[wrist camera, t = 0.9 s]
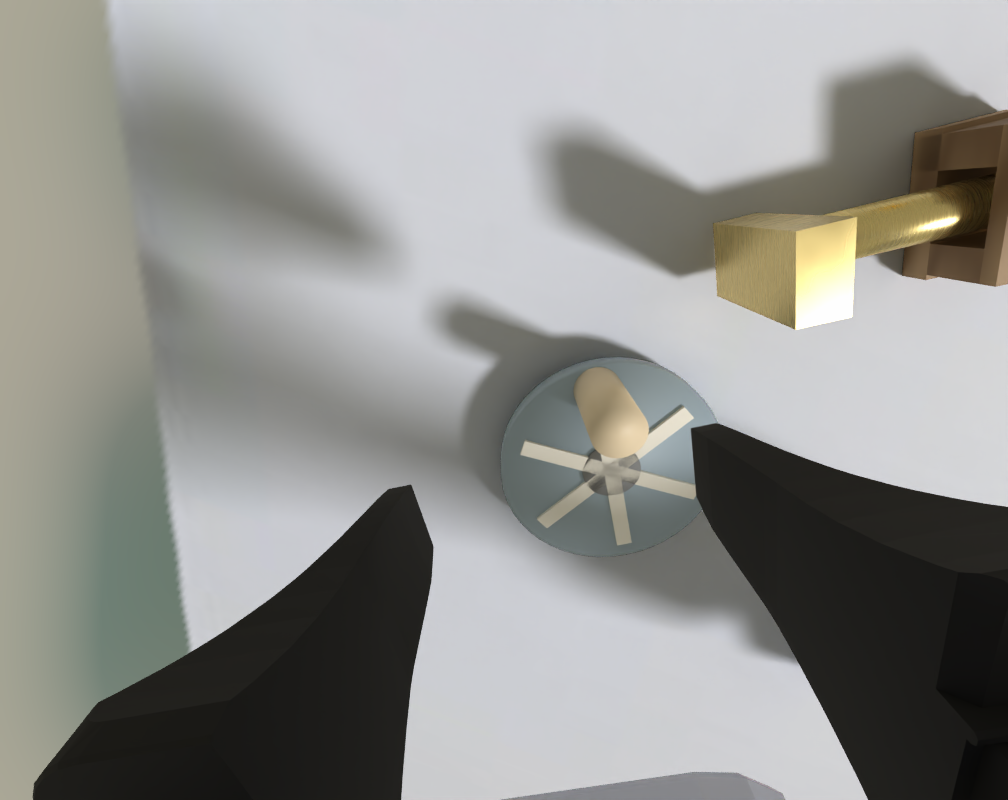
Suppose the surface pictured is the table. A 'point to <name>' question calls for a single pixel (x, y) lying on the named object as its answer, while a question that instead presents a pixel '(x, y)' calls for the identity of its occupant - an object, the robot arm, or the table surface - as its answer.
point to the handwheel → (604, 457)
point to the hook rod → (834, 249)
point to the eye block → (953, 158)
